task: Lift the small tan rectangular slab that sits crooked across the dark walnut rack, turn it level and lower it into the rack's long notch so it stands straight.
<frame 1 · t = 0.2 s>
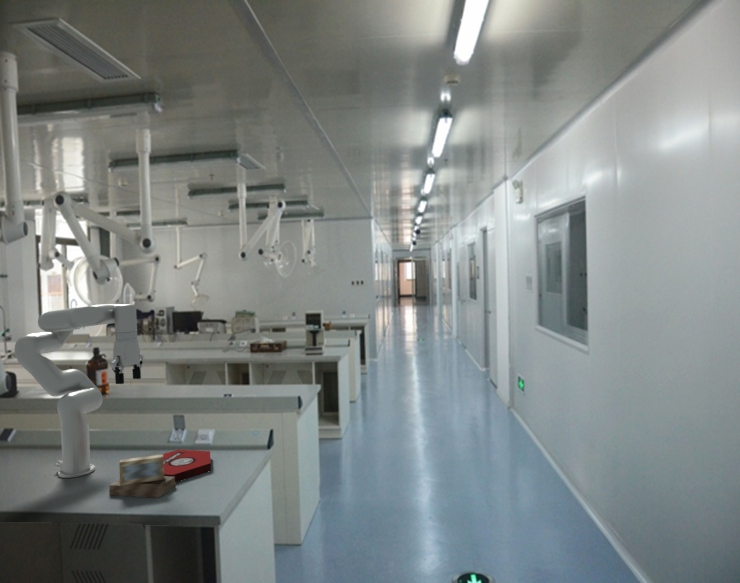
hand: (128, 381, 196), 36 cm above the table, tool pointing down, fingers open, 9 cm apart
plaque: (176, 470, 203), on the table
tan rectangular slab: (142, 480, 182), point 3 cm above the table, touching rack
rack: (142, 490, 182), on the table
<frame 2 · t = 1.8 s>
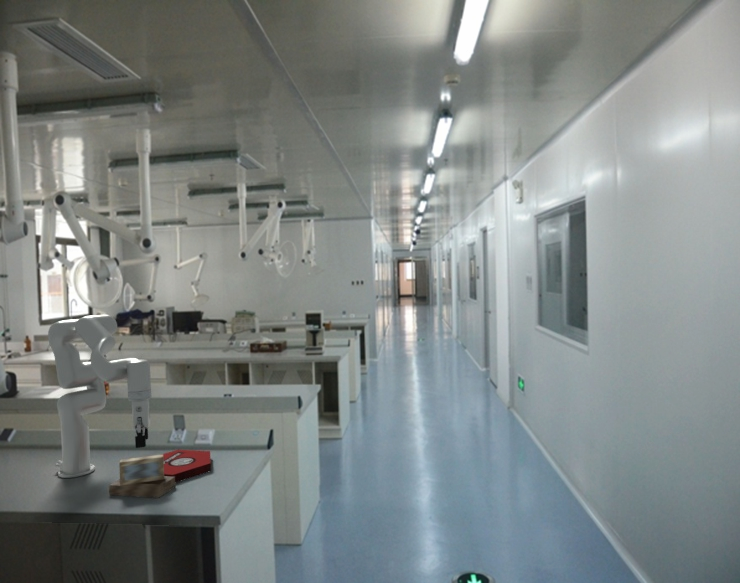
hand: (142, 443, 182), 17 cm above the table, tool pointing down, fingers open, 9 cm apart
nothing on the table moved.
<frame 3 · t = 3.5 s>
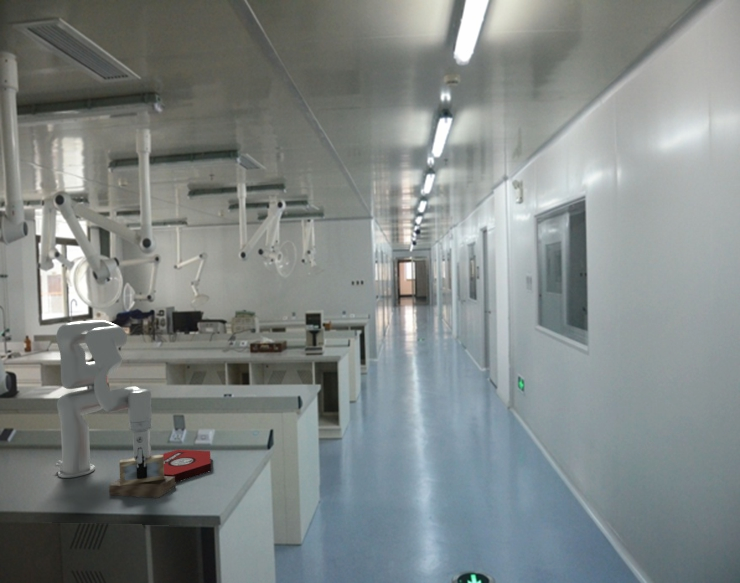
hand: (142, 475, 182), 5 cm above the table, tool pointing down, fingers closed on tan rectangular slab, 2 cm apart
tan rectangular slab: (142, 480, 182), point 4 cm above the table, touching gripper
everything else where it was.
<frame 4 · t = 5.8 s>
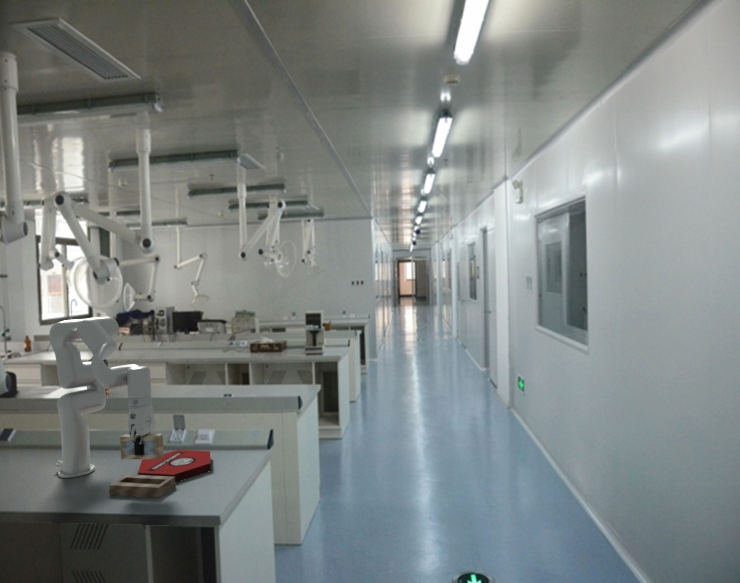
hand: (142, 452, 182), 13 cm above the table, tool pointing down, fingers closed on tan rectangular slab, 3 cm apart
tan rectangular slab: (142, 457, 182), point 12 cm above the table, touching gripper
everything else where it was.
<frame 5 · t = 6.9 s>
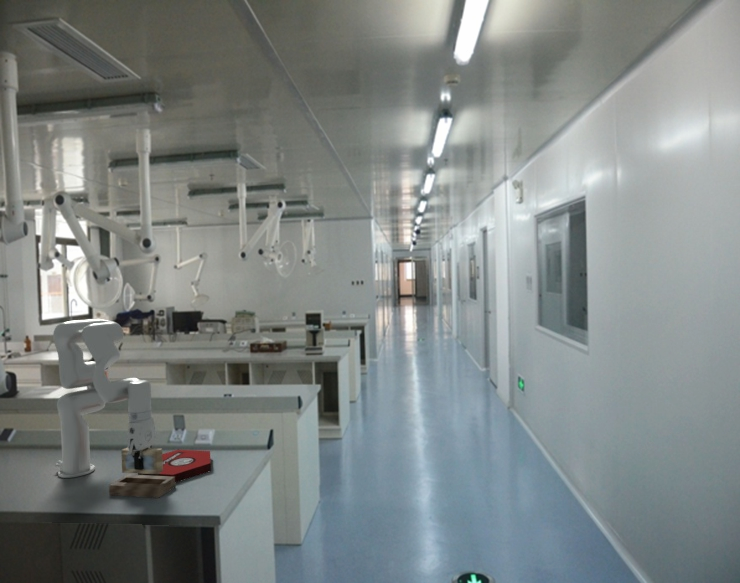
hand: (142, 466, 182), 8 cm above the table, tool pointing down, fingers closed on tan rectangular slab, 3 cm apart
tan rectangular slab: (142, 471, 182), point 7 cm above the table, touching gripper
everything else where it was.
when the fingers open (4 cm above the table, at t = 8.0 s): tan rectangular slab drops 1 cm, resting on rack.
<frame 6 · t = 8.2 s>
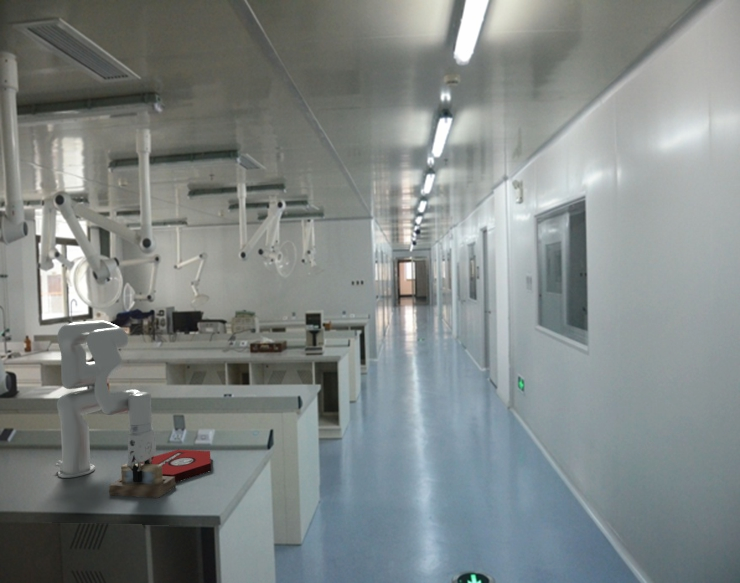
hand: (142, 478, 182), 4 cm above the table, tool pointing down, fingers open, 4 cm apart
tan rectangular slab: (142, 487, 182), point 1 cm above the table, touching rack
everything else where it was.
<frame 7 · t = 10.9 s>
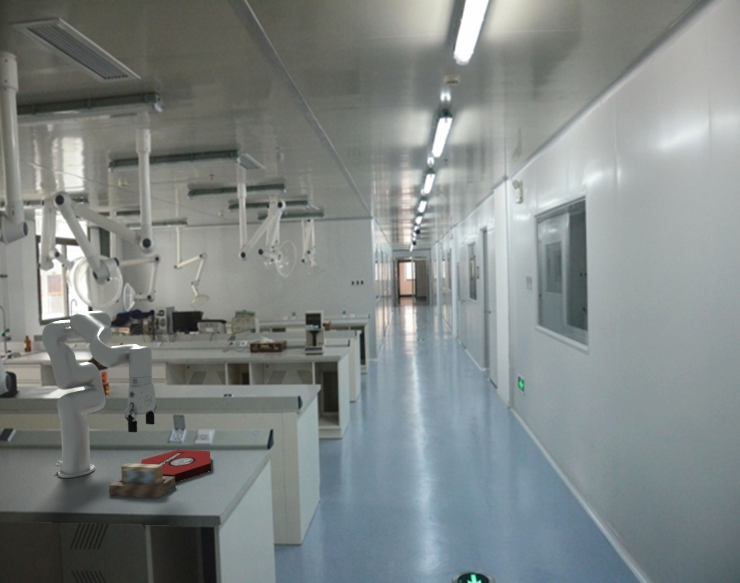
hand: (141, 427, 185), 21 cm above the table, tool pointing down, fingers open, 9 cm apart
nothing on the table moved.
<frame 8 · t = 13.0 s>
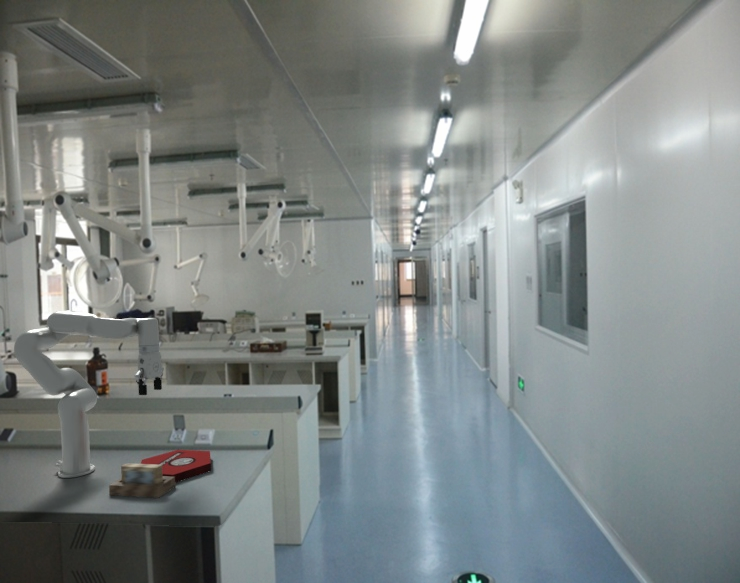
hand: (150, 392, 204), 30 cm above the table, tool pointing down, fingers open, 9 cm apart
nothing on the table moved.
at the end: tan rectangular slab 0.1 cm off-centre on the rack, point 1.0 cm above the rack's base; tan rectangular slab tilted 0°; the gripper is holding nothing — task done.
